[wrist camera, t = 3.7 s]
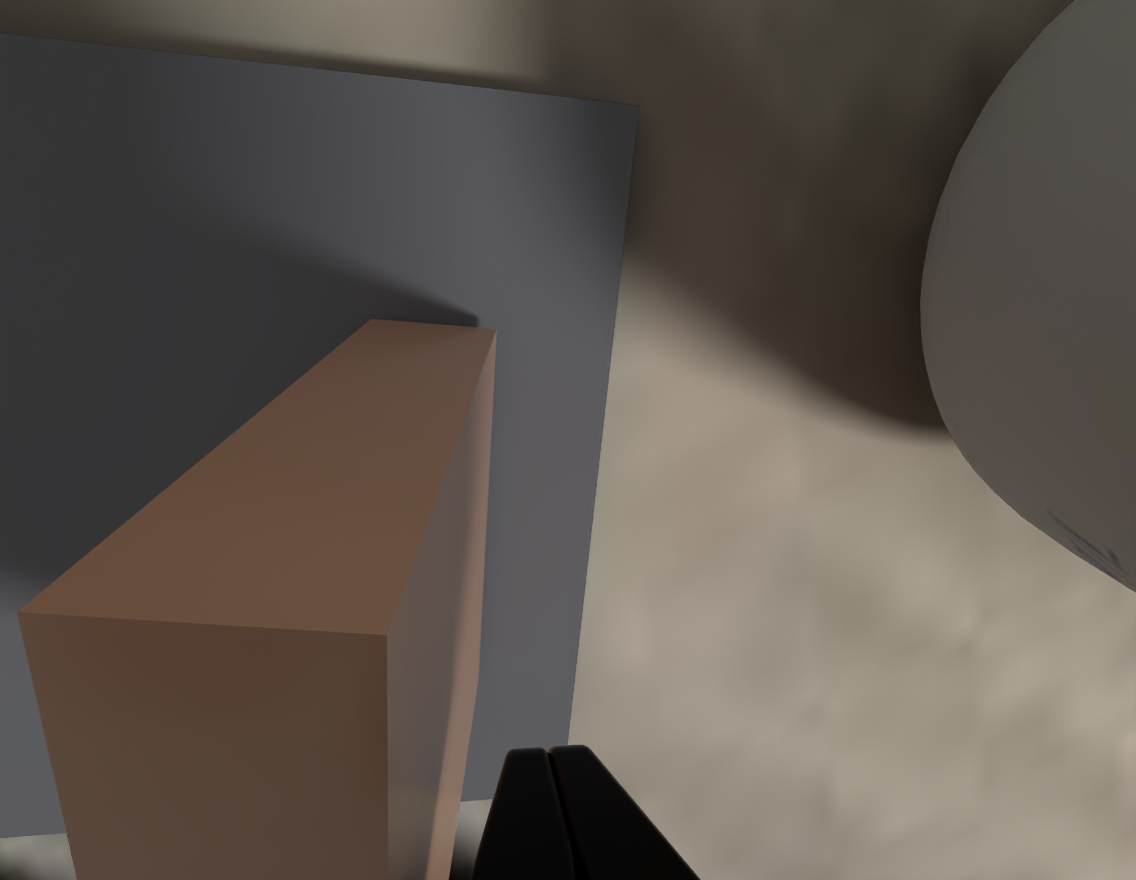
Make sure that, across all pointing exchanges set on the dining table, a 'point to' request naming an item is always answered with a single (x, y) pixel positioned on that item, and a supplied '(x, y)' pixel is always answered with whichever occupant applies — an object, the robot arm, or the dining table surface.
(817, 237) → the dining table surface
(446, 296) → the mat
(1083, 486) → the teacup
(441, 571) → the tile
